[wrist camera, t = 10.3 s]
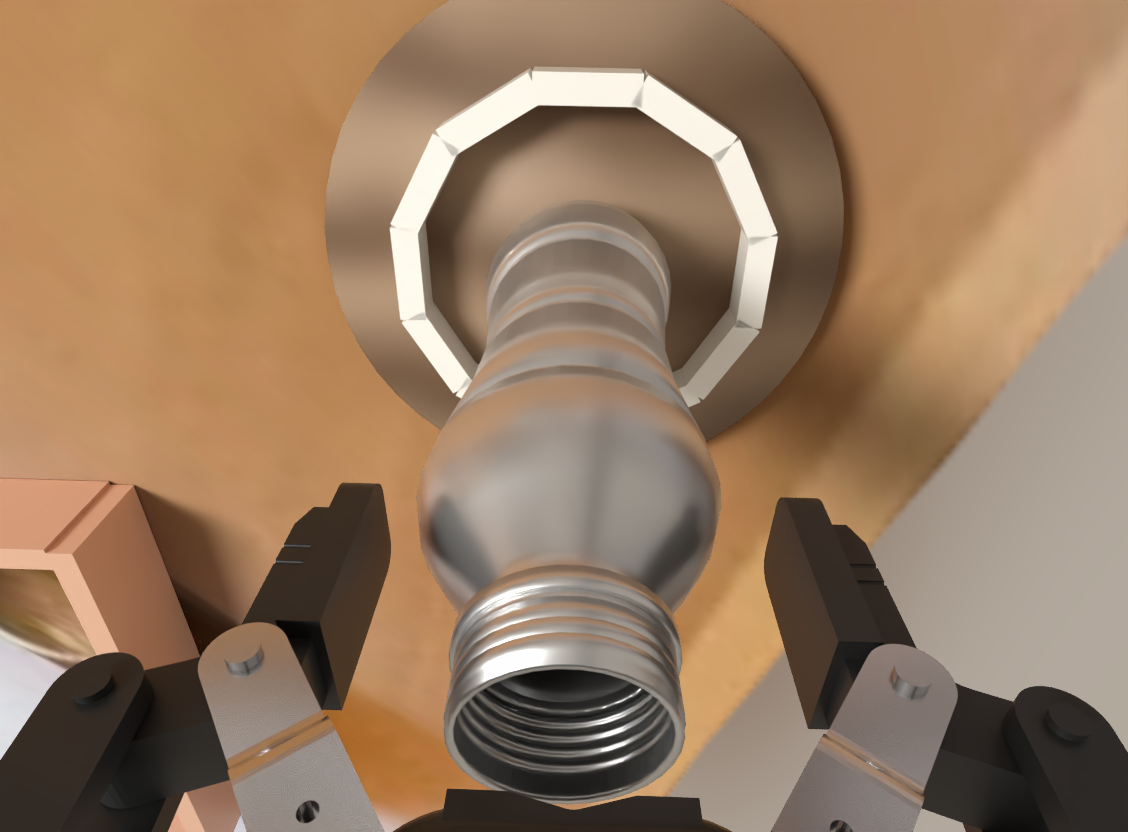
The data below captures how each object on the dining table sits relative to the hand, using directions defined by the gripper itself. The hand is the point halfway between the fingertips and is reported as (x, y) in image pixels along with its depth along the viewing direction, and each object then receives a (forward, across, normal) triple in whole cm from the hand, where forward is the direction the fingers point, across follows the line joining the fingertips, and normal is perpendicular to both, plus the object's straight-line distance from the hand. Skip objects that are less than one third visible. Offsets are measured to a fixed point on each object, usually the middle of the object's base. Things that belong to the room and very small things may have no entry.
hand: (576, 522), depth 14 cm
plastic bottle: (+16, 0, 0) cm, 16 cm away
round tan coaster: (+17, 0, 0) cm, 17 cm away
